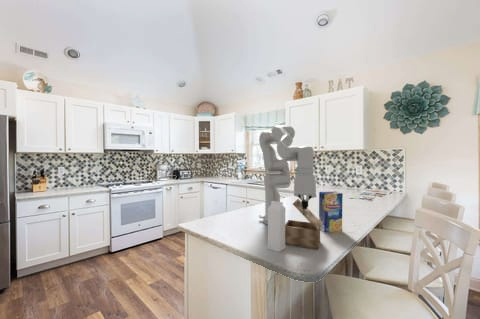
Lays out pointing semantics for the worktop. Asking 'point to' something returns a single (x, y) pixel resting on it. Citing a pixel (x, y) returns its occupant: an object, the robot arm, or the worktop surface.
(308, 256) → the worktop surface
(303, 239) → the crate
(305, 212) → the lid
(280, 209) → the milk
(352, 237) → the worktop surface
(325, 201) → the beverage box
